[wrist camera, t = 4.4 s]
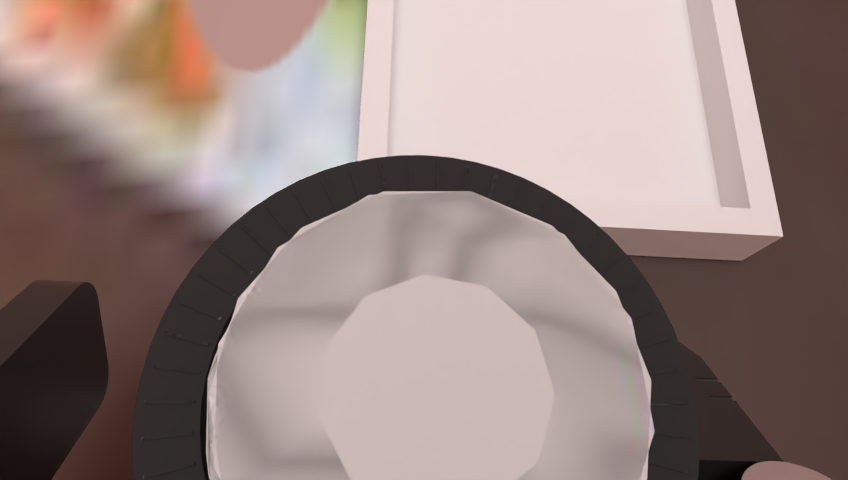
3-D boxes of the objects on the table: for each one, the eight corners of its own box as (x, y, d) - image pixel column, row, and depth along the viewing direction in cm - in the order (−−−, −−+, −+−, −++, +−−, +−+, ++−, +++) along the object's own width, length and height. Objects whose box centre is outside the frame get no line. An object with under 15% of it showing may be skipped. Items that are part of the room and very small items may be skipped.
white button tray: (681, -81, 21) (708, -128, 20) (741, 261, 17) (783, 236, 15) (377, -109, 20) (378, -161, 19) (354, 241, 16) (353, 213, 14)
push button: (181, 542, 13) (-255, 687, 4) (251, 304, 15) (73, 26, 6) (487, 601, 13) (770, 878, 4) (518, 357, 15) (754, 165, 6)
